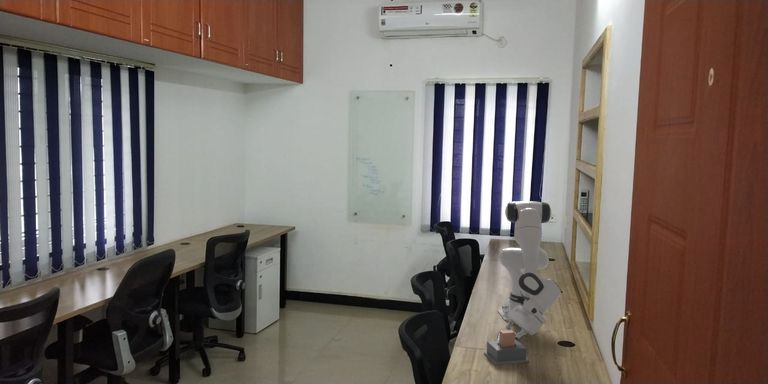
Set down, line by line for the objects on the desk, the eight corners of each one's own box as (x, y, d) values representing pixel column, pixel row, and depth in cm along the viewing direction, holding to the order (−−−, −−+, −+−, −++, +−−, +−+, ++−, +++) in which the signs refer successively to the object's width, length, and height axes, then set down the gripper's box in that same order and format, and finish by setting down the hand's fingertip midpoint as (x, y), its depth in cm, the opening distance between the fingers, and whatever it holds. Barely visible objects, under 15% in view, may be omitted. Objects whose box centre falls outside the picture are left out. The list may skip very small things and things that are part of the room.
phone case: (514, 347, 251) (517, 334, 266) (514, 343, 251) (517, 331, 266) (495, 344, 254) (499, 332, 269) (495, 341, 254) (499, 329, 269)
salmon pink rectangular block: (498, 354, 238) (499, 330, 236) (510, 353, 239) (512, 330, 238) (501, 357, 235) (502, 333, 233) (514, 356, 236) (515, 332, 235)
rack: (483, 353, 241) (484, 340, 240) (516, 351, 244) (516, 338, 244) (495, 364, 229) (495, 351, 229) (529, 362, 233) (529, 348, 232)
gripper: (517, 298, 247) (497, 320, 246) (539, 313, 227) (517, 337, 226) (525, 307, 248) (505, 329, 247) (548, 323, 229) (526, 346, 228)
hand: (511, 333), depth 236 cm, fingers open, 8 cm apart
